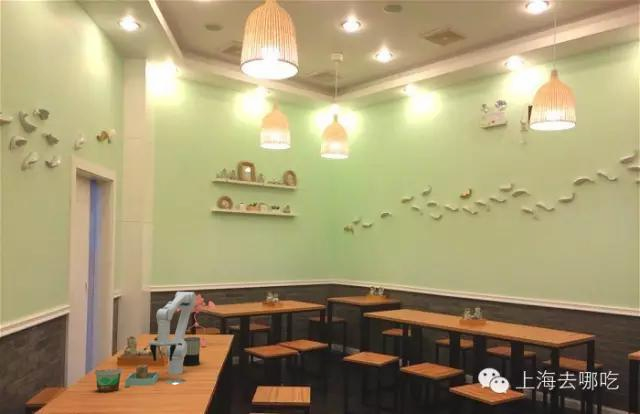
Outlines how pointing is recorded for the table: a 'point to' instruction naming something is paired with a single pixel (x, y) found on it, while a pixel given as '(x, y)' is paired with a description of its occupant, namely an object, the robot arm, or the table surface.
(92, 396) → the table surface
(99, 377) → the food container
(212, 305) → the pink flower branch
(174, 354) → the robot arm
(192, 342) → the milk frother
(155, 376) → the teal bin
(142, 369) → the brown wooden block
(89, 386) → the table surface
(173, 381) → the steel base plate
